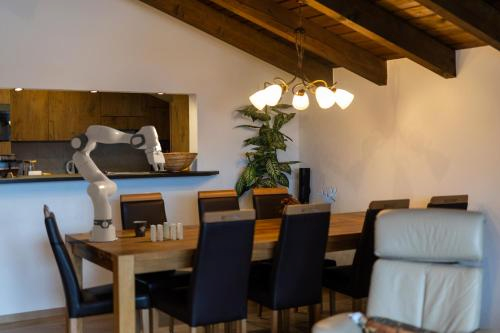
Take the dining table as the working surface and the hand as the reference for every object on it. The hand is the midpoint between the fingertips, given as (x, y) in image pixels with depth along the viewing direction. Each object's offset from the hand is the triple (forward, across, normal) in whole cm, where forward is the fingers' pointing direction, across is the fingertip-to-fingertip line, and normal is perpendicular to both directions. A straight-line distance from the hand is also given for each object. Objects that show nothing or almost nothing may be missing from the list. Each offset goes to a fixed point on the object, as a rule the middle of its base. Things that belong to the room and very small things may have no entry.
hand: (159, 170), depth 429 cm
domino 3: (+42, -21, -15) cm, 49 cm away
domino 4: (+44, -14, -8) cm, 47 cm away
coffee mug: (+37, -26, -33) cm, 56 cm away
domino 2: (+43, -9, -15) cm, 46 cm away
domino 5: (+45, -17, -4) cm, 49 cm away
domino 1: (+42, -6, -18) cm, 46 cm away
